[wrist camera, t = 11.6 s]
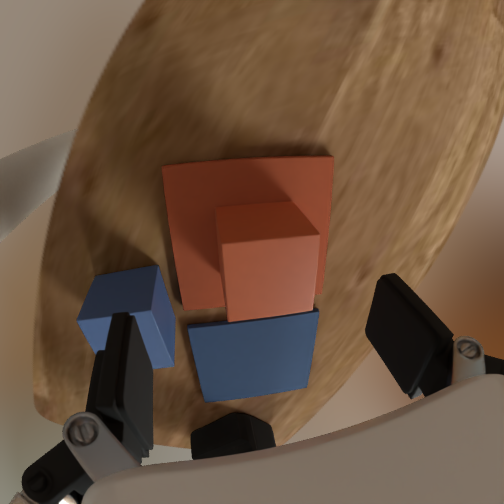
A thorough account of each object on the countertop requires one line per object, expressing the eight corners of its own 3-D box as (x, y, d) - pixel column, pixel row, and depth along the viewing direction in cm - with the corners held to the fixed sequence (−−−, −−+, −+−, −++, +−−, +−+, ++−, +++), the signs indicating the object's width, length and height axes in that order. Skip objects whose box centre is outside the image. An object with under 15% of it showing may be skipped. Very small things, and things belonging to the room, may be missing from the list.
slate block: (117, 326, 19) (107, 373, 15) (94, 275, 17) (75, 320, 13) (175, 318, 19) (174, 366, 16) (158, 264, 17) (150, 310, 14)
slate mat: (204, 399, 24) (204, 402, 24) (187, 324, 20) (187, 328, 19) (305, 384, 25) (307, 387, 25) (317, 307, 21) (319, 311, 21)
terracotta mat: (183, 307, 19) (183, 311, 19) (162, 165, 15) (161, 167, 14) (320, 290, 20) (322, 294, 20) (331, 155, 16) (334, 156, 16)
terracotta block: (220, 274, 18) (227, 322, 14) (214, 206, 16) (220, 243, 12) (290, 267, 18) (313, 310, 15) (293, 200, 16) (321, 233, 13)
